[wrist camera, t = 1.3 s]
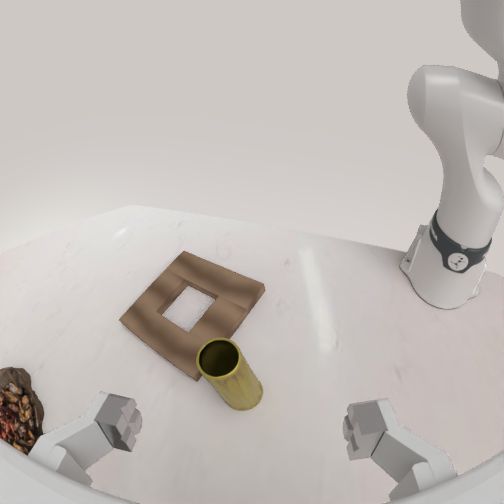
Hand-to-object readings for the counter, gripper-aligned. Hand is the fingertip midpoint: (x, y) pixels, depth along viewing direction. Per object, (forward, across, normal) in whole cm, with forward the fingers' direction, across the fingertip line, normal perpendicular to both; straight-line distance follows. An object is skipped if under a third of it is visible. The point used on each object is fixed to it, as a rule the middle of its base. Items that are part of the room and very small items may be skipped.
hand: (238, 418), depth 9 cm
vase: (+24, +2, +24) cm, 34 cm away
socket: (+39, +13, +17) cm, 45 cm away
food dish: (+11, +56, +39) cm, 69 cm away
